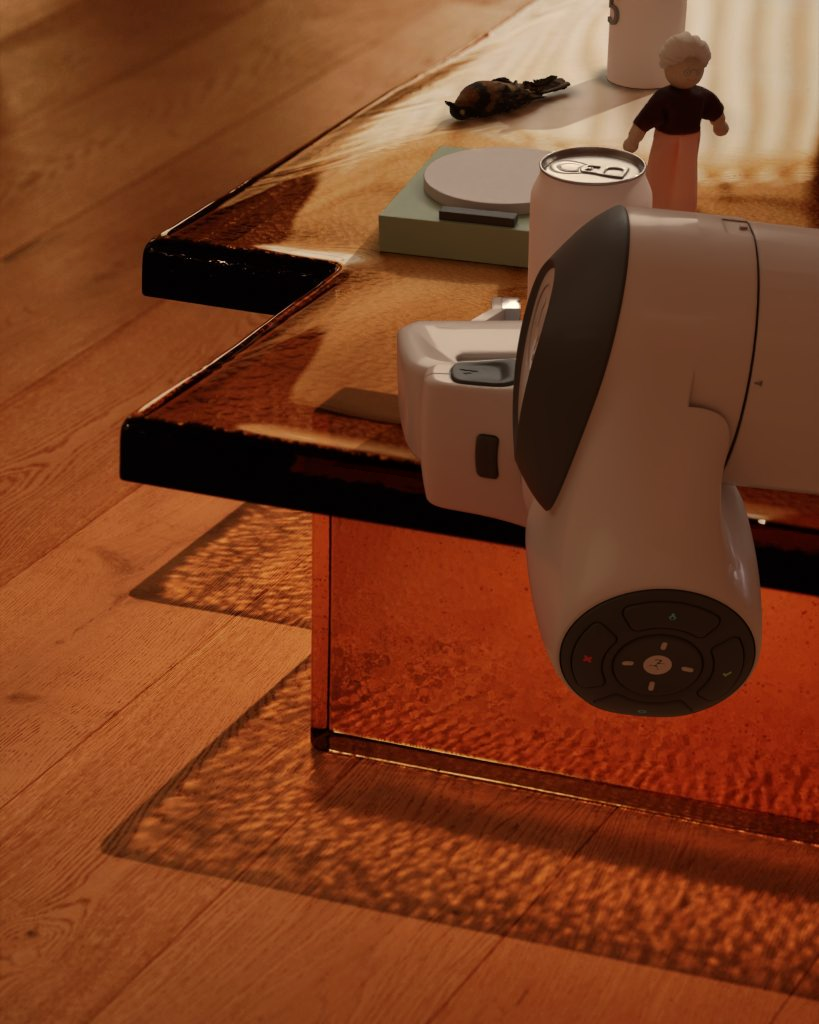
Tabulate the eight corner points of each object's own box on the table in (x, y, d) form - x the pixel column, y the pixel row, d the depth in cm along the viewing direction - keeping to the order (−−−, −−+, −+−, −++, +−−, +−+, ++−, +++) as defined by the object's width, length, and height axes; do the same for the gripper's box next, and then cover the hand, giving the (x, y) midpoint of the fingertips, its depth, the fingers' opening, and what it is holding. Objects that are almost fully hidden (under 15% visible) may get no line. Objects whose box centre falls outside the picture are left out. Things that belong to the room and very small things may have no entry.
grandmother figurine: (648, 241, 106) (662, 48, 99) (611, 223, 109) (622, 34, 102) (734, 216, 109) (753, 28, 103) (696, 199, 112) (712, 16, 106)
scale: (617, 196, 113) (620, 151, 111) (573, 273, 102) (575, 224, 100) (440, 178, 116) (440, 134, 115) (378, 251, 105) (377, 203, 103)
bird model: (429, 120, 128) (428, 86, 126) (559, 88, 134) (560, 56, 133) (453, 130, 125) (453, 96, 124) (584, 97, 132) (585, 65, 131)
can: (545, 337, 94) (551, 137, 87) (653, 354, 92) (668, 151, 85) (510, 385, 89) (514, 177, 82) (623, 404, 87) (637, 192, 80)
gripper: (870, 378, 68) (810, 250, 80) (388, 379, 69) (399, 252, 80) (851, 505, 71) (796, 364, 83) (392, 504, 72) (401, 365, 84)
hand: (597, 309), depth 82 cm, fingers open, 8 cm apart
